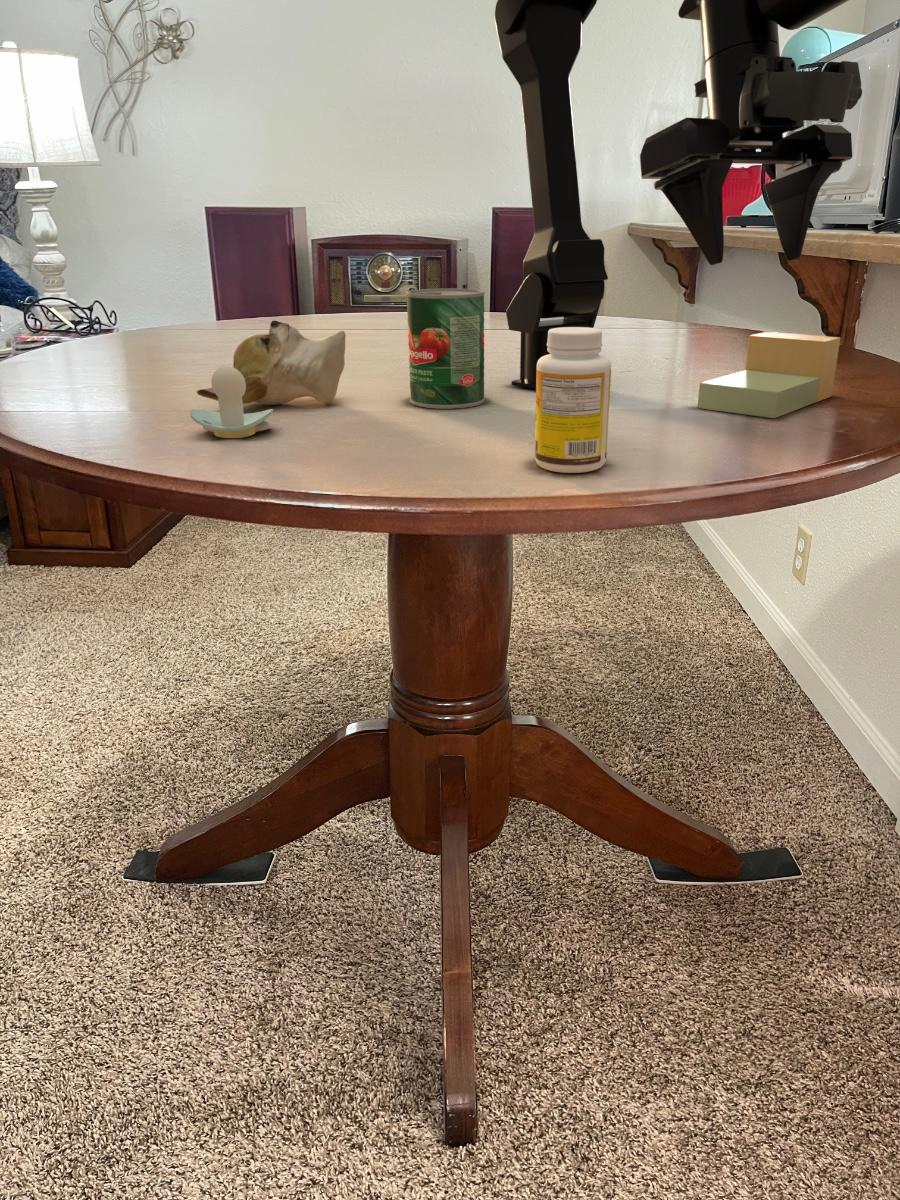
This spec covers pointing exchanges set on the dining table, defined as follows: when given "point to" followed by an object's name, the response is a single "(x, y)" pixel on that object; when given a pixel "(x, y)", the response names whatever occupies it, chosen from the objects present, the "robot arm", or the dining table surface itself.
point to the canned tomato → (446, 347)
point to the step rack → (776, 376)
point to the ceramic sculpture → (287, 366)
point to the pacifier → (230, 408)
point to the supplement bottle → (572, 401)
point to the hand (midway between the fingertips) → (756, 261)
